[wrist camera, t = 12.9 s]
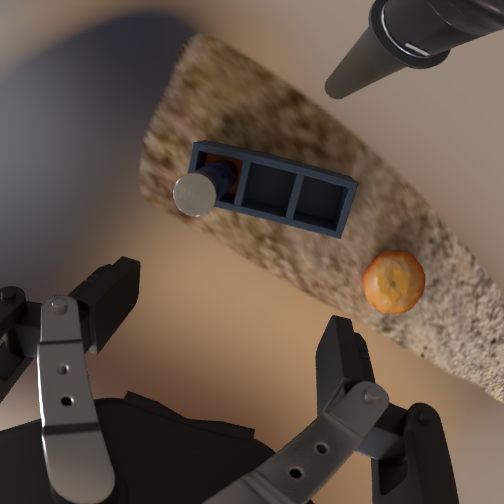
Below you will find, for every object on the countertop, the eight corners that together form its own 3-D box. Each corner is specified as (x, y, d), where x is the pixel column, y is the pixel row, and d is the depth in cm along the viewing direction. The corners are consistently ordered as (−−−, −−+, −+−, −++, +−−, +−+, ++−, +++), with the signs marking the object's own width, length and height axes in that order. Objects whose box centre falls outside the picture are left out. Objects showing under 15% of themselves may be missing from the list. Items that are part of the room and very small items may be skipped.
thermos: (211, 155, 37) (176, 169, 26) (242, 161, 37) (219, 178, 26) (205, 185, 38) (170, 211, 27) (235, 192, 38) (211, 221, 27)
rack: (204, 140, 37) (193, 142, 33) (351, 176, 36) (358, 183, 32) (194, 191, 40) (183, 199, 35) (335, 226, 39) (340, 239, 35)
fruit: (397, 317, 41) (390, 332, 34) (360, 278, 44) (346, 285, 37) (436, 277, 38) (438, 284, 31) (397, 237, 41) (391, 236, 34)
